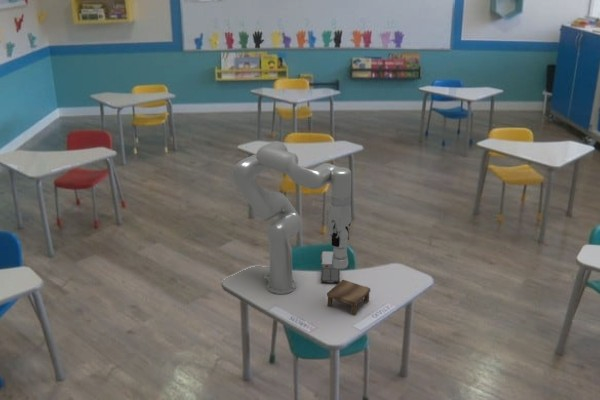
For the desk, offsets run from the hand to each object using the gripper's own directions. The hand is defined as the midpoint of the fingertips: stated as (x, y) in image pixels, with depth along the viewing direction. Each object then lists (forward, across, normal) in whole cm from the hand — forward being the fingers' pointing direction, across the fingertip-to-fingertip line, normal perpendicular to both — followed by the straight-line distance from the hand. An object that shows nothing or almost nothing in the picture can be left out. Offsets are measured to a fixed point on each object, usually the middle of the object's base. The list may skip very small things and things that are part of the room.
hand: (340, 242), depth 222 cm
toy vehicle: (+29, -20, -17) cm, 39 cm away
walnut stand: (+29, -4, +2) cm, 29 cm away
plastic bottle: (+11, 0, 0) cm, 11 cm away
